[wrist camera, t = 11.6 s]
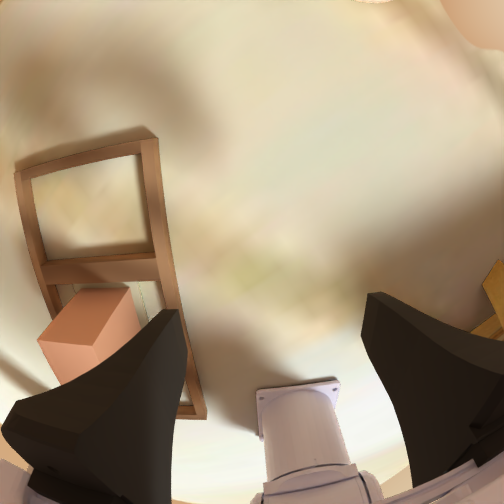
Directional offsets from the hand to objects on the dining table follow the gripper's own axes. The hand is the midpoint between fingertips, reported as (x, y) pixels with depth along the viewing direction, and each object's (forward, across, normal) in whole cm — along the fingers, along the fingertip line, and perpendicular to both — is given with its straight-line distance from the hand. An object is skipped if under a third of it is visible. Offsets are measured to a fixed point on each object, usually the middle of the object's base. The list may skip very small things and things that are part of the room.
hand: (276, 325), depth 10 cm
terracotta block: (+9, +12, +5) cm, 16 cm away
